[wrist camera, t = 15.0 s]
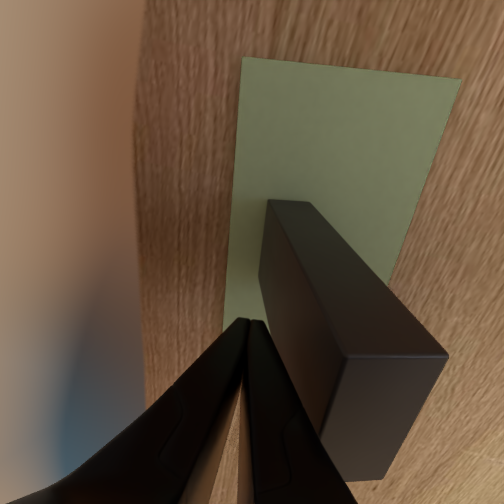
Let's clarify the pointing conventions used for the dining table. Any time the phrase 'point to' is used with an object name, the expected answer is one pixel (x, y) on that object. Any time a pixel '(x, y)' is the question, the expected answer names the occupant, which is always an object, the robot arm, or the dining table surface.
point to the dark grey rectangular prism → (343, 340)
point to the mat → (330, 159)
